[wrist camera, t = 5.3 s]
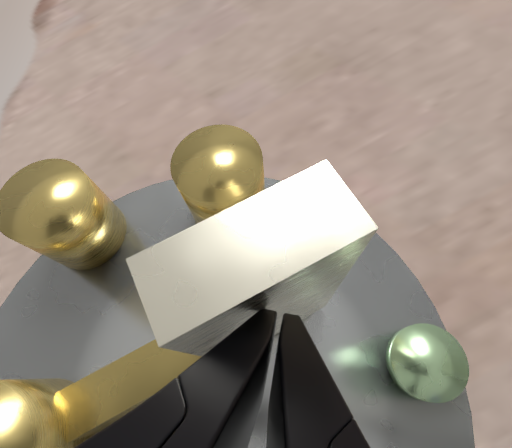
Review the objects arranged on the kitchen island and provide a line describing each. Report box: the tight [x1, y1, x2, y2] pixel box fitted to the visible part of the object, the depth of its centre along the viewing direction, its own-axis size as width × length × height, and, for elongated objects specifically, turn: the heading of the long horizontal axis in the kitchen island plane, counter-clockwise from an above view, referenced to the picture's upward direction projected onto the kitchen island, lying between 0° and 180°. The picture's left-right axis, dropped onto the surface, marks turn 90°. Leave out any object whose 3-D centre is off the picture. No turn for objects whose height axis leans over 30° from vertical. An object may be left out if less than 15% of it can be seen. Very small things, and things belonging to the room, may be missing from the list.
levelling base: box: [0, 125, 475, 448], centre depth 13 cm, size 22×22×5 cm
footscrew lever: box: [0, 160, 378, 448], centre depth 10 cm, size 15×4×9 cm, turn 118°
